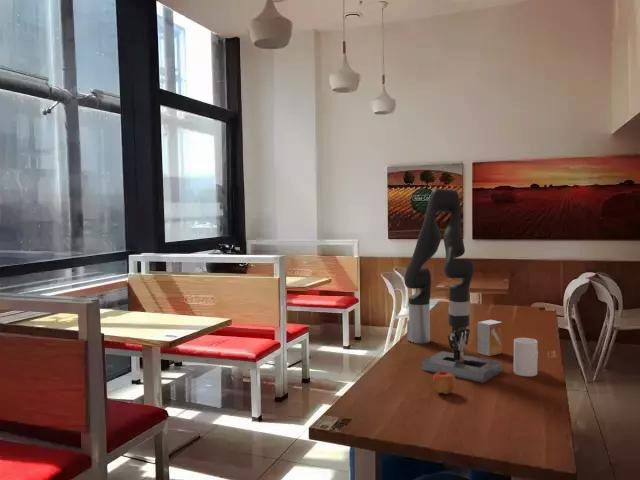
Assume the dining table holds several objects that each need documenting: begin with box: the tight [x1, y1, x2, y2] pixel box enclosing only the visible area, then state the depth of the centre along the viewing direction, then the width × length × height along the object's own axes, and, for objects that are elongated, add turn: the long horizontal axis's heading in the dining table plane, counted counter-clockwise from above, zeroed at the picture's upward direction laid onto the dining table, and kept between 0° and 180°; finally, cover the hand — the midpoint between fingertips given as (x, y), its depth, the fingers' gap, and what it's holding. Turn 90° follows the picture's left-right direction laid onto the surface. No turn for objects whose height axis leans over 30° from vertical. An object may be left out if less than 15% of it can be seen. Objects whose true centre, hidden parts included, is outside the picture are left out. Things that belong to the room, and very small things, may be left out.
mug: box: [513, 337, 539, 377], centre depth 195 cm, size 8×12×12 cm
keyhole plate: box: [421, 350, 503, 384], centre depth 197 cm, size 24×16×4 cm, turn 49°
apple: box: [432, 368, 457, 395], centre depth 175 cm, size 7×7×8 cm
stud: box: [455, 338, 465, 365], centre depth 198 cm, size 5×5×12 cm
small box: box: [477, 319, 503, 357], centre depth 219 cm, size 8×6×13 cm
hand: (459, 358), depth 198 cm, fingers closed on stud, 3 cm apart
